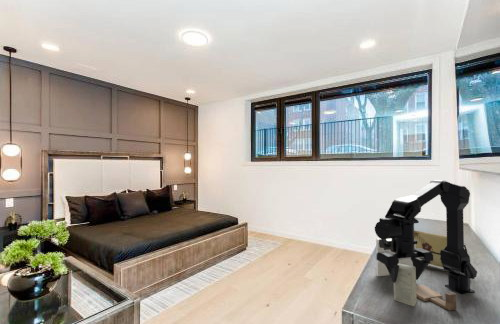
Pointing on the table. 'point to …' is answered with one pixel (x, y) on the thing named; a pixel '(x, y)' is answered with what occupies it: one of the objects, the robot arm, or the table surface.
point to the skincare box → (406, 285)
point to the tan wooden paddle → (437, 297)
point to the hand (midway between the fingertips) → (404, 280)
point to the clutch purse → (432, 246)
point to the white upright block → (381, 267)
